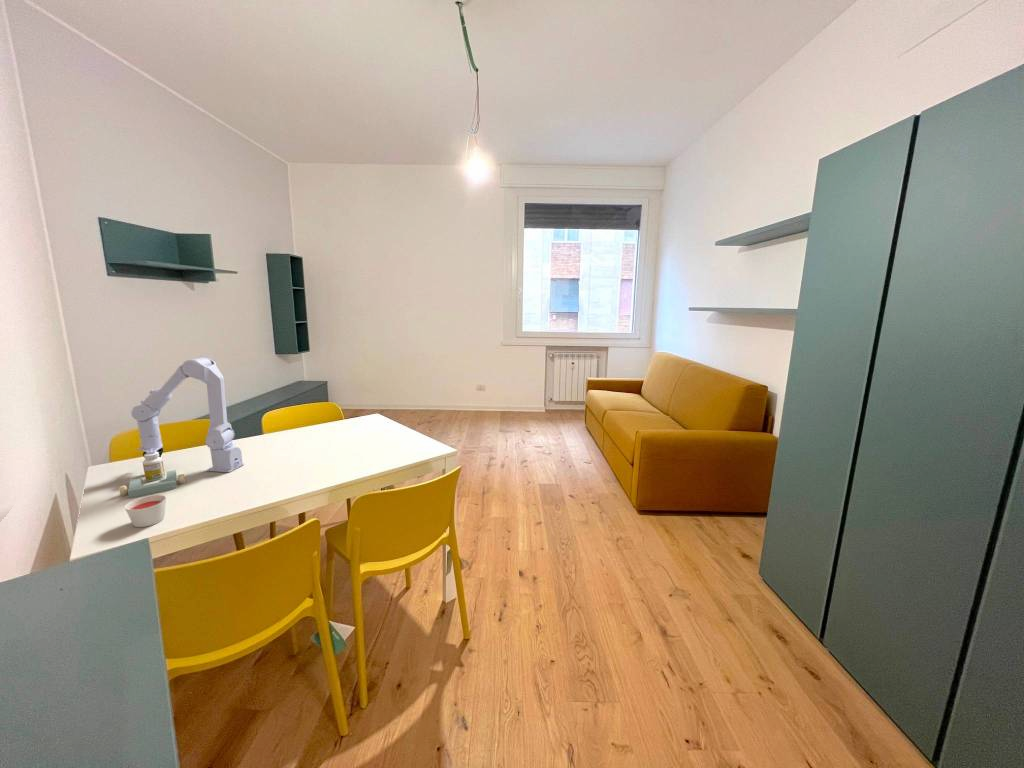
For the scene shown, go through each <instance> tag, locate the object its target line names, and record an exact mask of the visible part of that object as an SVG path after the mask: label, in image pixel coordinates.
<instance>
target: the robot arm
mask: <svg viewBox="0 0 1024 768" xmlns="http://www.w3.org/2000/svg"><path fill="white" fill-rule="evenodd" d="M188 378H193V379H194V380H195V379H196V380H198V381H199V380H200V382H203V383H204V384H206V388H207V389H206V391H207V402H208V403H207V404H208V414H209V426H208V429H207V436H206V438H205V441H204V442H205V445H206V446H207V447H208V449H210V450H209V451H210V457H211V458H210V459H211V463H212V465H211V467H209V468H207V469H206V471H208V472H219V473H220V472H222V473H230V472H233V471H235V470H236V469H238V468H240V467H243V466H244V465H245V463H244V461H243V455H242V450H241V448H239V447H237V446H235V444H233V443H234V442H233V440H234V438H235V431H234V430H233V427H232V424H231V422H229V421H228V415H227V401H226V399H227V398H226V388H225V386H226V385H225V378H224V376H223V374H222V372H221V371H220V369H219V367H217V363H216V362H215V361H214V360H213V359H211V358H209V357H207V356H199V357H197V358H194V359H187V360H185V361H184V362H183V363H182V364H181V365H180V366H177V369H176V370H175V371H174V373H173V374H172V375H171V376H170V377H169V378H168V379H167V380H166V382H165V383H164V384H163V385H162V387H156V388H154V389H151V390H150V391H149V394H148V396H147V397H146V398H144V399H141V401H140V403H141V404H139V405H135V406H134V407H132V410H131V412H130V413H131V417H132V418H133V419H134V420H136V421H137V422H136V424H137V428H138V432H139V440H140V445H141V446H139V447H137V451H143V452H142V456H143V457H144V455H145V454H146V453H147V454H148V455H149V454H155V452H159V457H161V458H162V454H163V452H164V448H163V447H164V444H163V441H162V435H161V430H160V425H159V424H160V423H159V415H160V413H161V412H162V411H161V410H162V408H164V406H165V405H166V404H168V402H170V400H171V399H172V397H173V395H172V392H173V391H175V390H176V389H177V388H178V387H179V386H180V385H181V384H182V383H183V382H184V381H185V380H186V379H188Z"/></svg>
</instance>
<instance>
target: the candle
mask: <svg viewBox="0 0 1024 768" xmlns="http://www.w3.org/2000/svg"><path fill="white" fill-rule="evenodd" d="M166 499H167V497H166V495H164V494H154V495H153V494H152V495H151V494H150V495H147V496H146V495H145V496H141V497H140V498H136V499H134V500H131V501H129V502H128V503H126V504H125V506H124V509H125V511H126V514H127V515H128V518H129V519H130V521H131V524H132V525H133V526H134V527H135V528H144V527H145V528H146V527H149V526H153V525H156V524H158V523H160V522H161V521H163V520H164V519H165V516H166V515H165V514H166V504H167V503H166V502H167V500H166Z"/></svg>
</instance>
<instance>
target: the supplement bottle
mask: <svg viewBox="0 0 1024 768" xmlns="http://www.w3.org/2000/svg"><path fill="white" fill-rule="evenodd" d="M143 457H144V460H142V467H143V472H144V477H145V480H146V481H147V482H155V481H158V480H159V481H160V480H161V479H164V478H165V477H166V473H165V468H164V461H163V458H162V456H161V457H159V452H155V454H149V455H148V454H147V453H146V454H145V455H144V456H143Z"/></svg>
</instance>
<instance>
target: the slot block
mask: <svg viewBox="0 0 1024 768" xmlns="http://www.w3.org/2000/svg"><path fill="white" fill-rule="evenodd" d="M165 477H166V478H165V480H163V481H160V482H153V483H149V484H145V485H143V480H142V476H138V477H132V478H131V480H130V483H129V486H128V487H127V485H121V486H119V487H118V490H119V494H120V497H125V496H128V498H129V499H133V498H137V497H143V496H146V495H147V496H148V495H151V494H155V493H160V492H165V491H171V490H173V489H177V482H178V485H183V484H185V483H186V479H185V474H184V473H183V474H181V473H180V474H177V470H176V469H175V470H170V471H166V475H165Z"/></svg>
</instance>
